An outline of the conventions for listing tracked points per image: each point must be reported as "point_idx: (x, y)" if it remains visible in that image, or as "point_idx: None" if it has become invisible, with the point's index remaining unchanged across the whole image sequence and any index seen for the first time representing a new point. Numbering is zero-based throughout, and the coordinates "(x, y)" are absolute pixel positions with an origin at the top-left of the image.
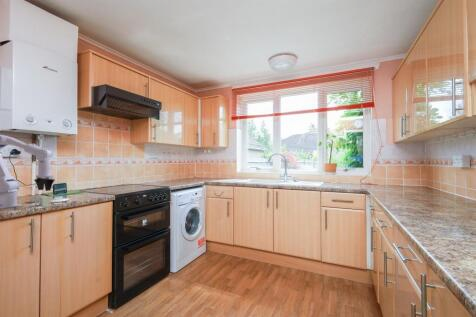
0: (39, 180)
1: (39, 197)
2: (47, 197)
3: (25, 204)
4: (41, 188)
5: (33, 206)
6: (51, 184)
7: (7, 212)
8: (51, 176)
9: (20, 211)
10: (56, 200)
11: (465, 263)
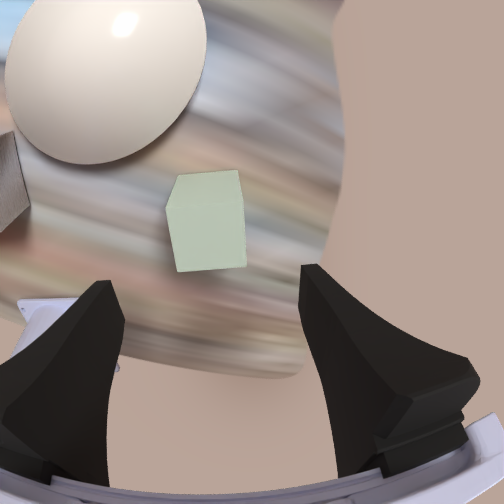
0: (86, 454)
1: (181, 270)
2: (243, 219)
3: (41, 259)
4: (111, 314)
5: None
6: (379, 327)
7: (270, 372)
8: (498, 469)
9: None
10: (127, 69)
11: None
